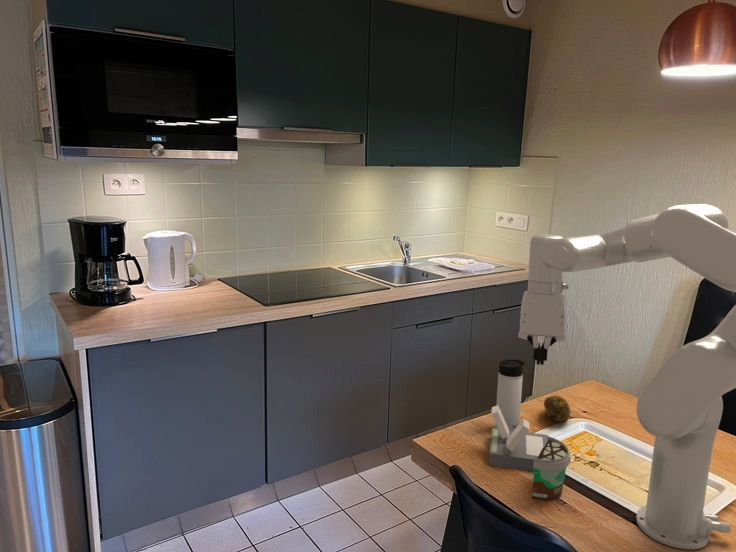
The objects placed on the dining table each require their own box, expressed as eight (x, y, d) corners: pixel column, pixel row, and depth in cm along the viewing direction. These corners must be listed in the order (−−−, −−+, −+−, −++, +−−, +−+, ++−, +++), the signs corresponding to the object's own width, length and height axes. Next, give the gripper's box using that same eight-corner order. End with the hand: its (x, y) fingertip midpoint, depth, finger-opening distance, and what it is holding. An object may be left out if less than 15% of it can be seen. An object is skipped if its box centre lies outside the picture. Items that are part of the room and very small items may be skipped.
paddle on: (511, 434, 138) (498, 404, 137) (511, 442, 133) (497, 412, 133) (505, 436, 138) (492, 406, 138) (504, 444, 134) (491, 414, 133)
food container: (560, 511, 112) (564, 467, 111) (530, 502, 116) (533, 458, 114) (573, 483, 123) (576, 442, 121) (545, 475, 126) (548, 435, 124)
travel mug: (520, 438, 143) (526, 366, 139) (495, 435, 145) (499, 364, 141) (519, 427, 149) (524, 358, 145) (494, 425, 151) (498, 356, 147)
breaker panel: (547, 445, 139) (548, 434, 139) (550, 473, 127) (551, 461, 126) (491, 438, 143) (491, 427, 142) (488, 464, 130) (489, 452, 129)
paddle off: (509, 447, 133) (529, 421, 130) (508, 456, 128) (529, 430, 126) (503, 443, 133) (523, 418, 130) (502, 452, 129) (523, 426, 126)
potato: (579, 416, 157) (581, 390, 155) (563, 432, 147) (566, 404, 145) (550, 408, 162) (552, 382, 160) (533, 423, 152) (535, 396, 150)
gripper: (577, 286, 128) (571, 360, 132) (511, 283, 132) (507, 355, 135) (580, 292, 121) (574, 371, 125) (511, 289, 125) (507, 365, 128)
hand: (539, 362), depth 130 cm, fingers closed
